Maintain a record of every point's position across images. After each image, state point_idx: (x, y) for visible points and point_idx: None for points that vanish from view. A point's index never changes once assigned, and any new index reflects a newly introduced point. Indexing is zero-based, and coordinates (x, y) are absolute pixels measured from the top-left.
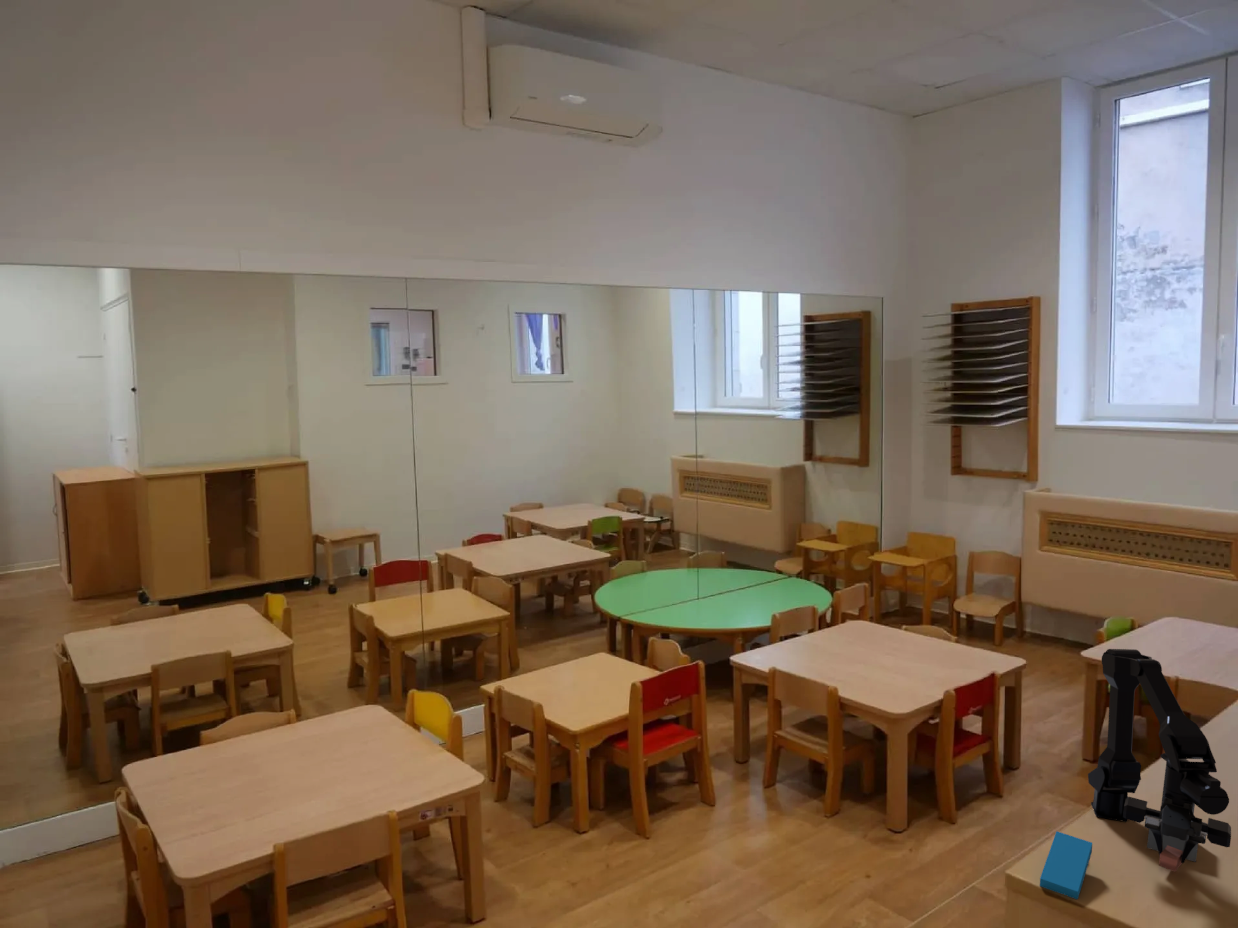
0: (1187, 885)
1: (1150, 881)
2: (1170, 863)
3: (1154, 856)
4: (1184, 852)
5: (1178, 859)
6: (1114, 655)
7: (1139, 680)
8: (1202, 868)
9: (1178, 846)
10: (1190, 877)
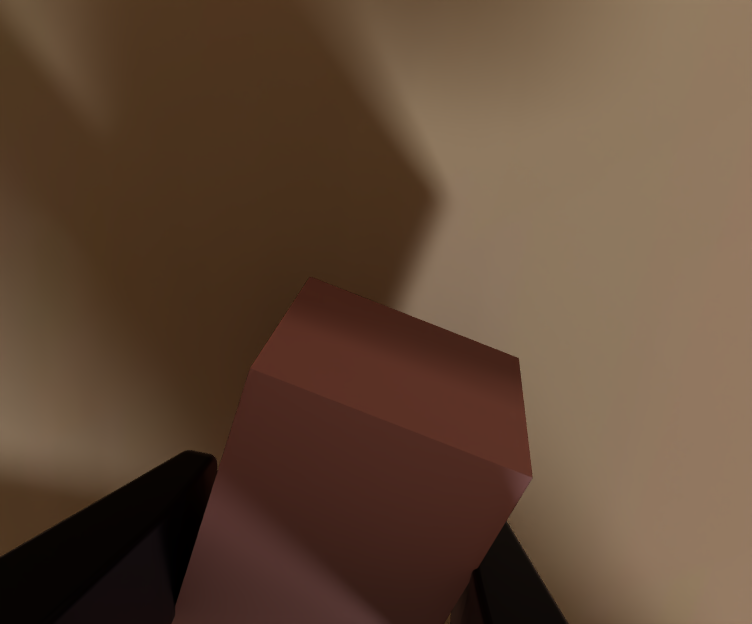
0: (194, 163)
1: (668, 6)
2: (362, 350)
3: None
4: (76, 573)
5: (229, 450)
6: None
7: None
8: None
9: None
10: (172, 362)
